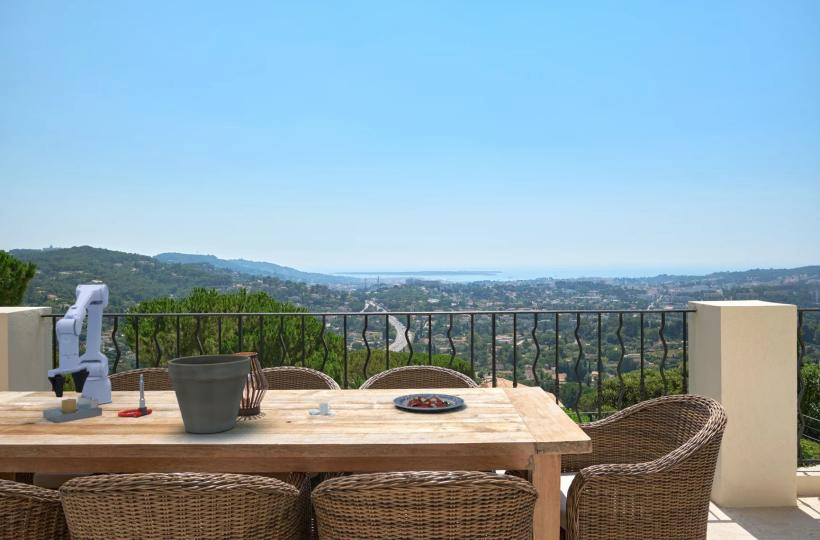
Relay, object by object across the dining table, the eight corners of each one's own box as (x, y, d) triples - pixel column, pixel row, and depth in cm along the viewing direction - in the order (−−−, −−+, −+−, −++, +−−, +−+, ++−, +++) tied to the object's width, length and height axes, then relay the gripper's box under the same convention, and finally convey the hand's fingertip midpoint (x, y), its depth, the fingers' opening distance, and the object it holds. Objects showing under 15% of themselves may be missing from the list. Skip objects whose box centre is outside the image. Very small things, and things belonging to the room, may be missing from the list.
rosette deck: (86, 410, 221) (86, 393, 221) (101, 415, 213) (101, 397, 213) (43, 417, 210) (43, 399, 210) (57, 423, 202) (57, 404, 202)
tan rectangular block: (69, 416, 212) (69, 398, 212) (76, 417, 210) (76, 399, 210) (62, 418, 209) (61, 400, 209) (68, 419, 208) (68, 401, 208)
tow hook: (111, 417, 212) (134, 418, 208) (110, 376, 212) (132, 376, 209) (132, 411, 220) (154, 412, 217) (131, 372, 221) (153, 372, 217)
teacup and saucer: (305, 415, 213) (305, 403, 213) (323, 411, 219) (323, 399, 219) (321, 419, 207) (321, 407, 207) (339, 415, 213) (339, 403, 213)
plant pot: (186, 418, 208) (186, 353, 208) (260, 418, 207) (260, 353, 207) (153, 438, 183) (153, 364, 183) (237, 438, 183) (236, 364, 182)
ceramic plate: (380, 411, 218) (380, 402, 218) (408, 397, 242) (408, 389, 242) (451, 417, 209) (451, 408, 209) (472, 402, 233) (472, 394, 233)
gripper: (78, 350, 218) (78, 389, 218) (40, 356, 204) (41, 398, 204) (93, 351, 215) (94, 391, 215) (56, 357, 202) (56, 399, 202)
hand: (69, 394), depth 210 cm, fingers open, 7 cm apart
